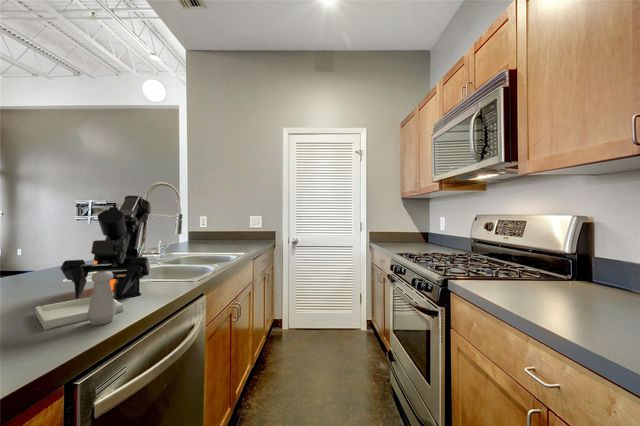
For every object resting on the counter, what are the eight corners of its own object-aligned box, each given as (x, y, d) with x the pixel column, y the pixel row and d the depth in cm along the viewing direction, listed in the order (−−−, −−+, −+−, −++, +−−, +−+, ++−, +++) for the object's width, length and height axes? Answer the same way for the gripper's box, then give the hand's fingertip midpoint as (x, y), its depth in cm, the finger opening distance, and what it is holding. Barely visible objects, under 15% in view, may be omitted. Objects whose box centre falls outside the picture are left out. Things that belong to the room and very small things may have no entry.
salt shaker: (92, 328, 67) (93, 275, 67) (83, 323, 70) (83, 272, 70) (120, 320, 72) (120, 271, 72) (110, 316, 75) (110, 268, 75)
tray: (106, 300, 88) (106, 294, 88) (123, 311, 78) (123, 304, 78) (35, 314, 76) (35, 306, 76) (44, 329, 66) (44, 321, 66)
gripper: (64, 229, 71) (38, 281, 61) (148, 228, 78) (137, 275, 67) (78, 255, 78) (57, 306, 68) (153, 252, 85) (144, 298, 75)
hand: (100, 296), depth 69 cm, fingers open, 9 cm apart
